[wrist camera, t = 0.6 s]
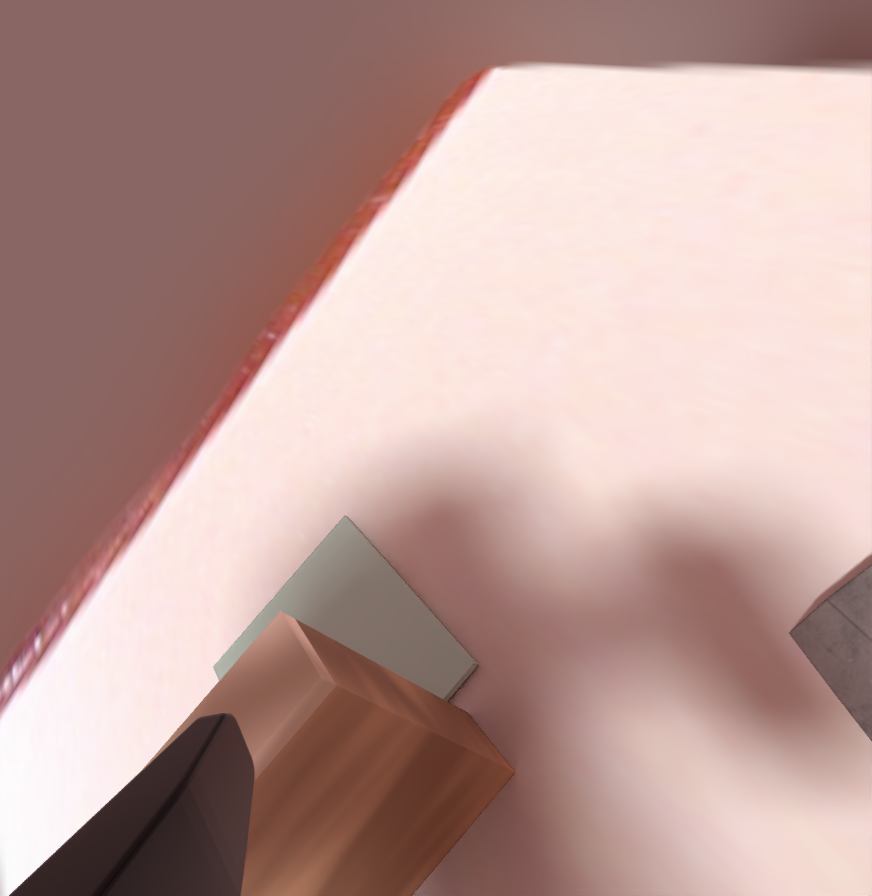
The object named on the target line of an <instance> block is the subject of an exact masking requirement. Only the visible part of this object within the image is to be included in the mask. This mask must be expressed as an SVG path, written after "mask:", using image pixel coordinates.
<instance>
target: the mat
mask: <svg viewBox="0 0 872 896" xmlns="http://www.w3.org/2000/svg"><path fill="white" fill-rule="evenodd" d="M280 611H282V612H284V613H286V614H287V615H289V616H291V617H293V618H295V619H297V620H298V621H300V622H302V623H304V624H306V625H308V626H309V627H311V628H313V629H315V630H317V631H319V632H320V633H322V634H324V635H326V636H328V637H330V638H331V639H333V640H335V641H337V642H339V643H341V644H342V645H344V646H346V647H348V648H350V649H352V650H353V651H355V652H357V653H359V654H361V655H363V656H364V657H366V658H368V659H370V660H372V661H374V662H375V663H377V664H379V665H381V666H383V667H385V668H386V669H388V670H390V671H392V672H394V673H396V674H397V675H399V676H401V677H403V678H405V679H407V680H409V681H410V682H412V683H414V684H416V685H418V686H420V687H421V688H423V689H425V690H427V691H429V692H431V693H432V694H434V695H436V696H438V697H440V698H442V699H443V700H445V701H447V702H448V700H449V699H450V698H451V697H452V696H453V694H454V693H455V692H456V691H457V690H458V689H459V687H460V686H461V685H462V684H463V683H464V681H465V680H466V679H467V678H468V677H469V676H470V674H471V673H472V672H473V671H474V670H475V669H476V667H477V666H478V664H477V663H476V662H475V660H474V659H473V658H472V657H471V656H470V655H469V654H468V652H467V651H466V650H465V649H464V648H463V647H462V646H461V645H460V643H459V642H458V641H457V640H456V639H455V638H454V637H453V636H452V634H451V633H450V632H449V631H448V630H447V629H446V628H445V627H444V625H443V624H442V623H441V622H440V621H439V620H438V619H437V617H436V616H435V615H434V614H433V613H432V612H431V611H430V610H429V608H428V607H427V606H426V605H425V604H424V603H423V602H422V601H421V599H420V598H419V597H418V596H417V595H416V594H415V593H414V591H413V590H412V589H411V588H410V587H409V586H408V585H407V584H406V582H405V581H404V580H403V579H402V578H401V577H400V576H399V575H398V573H397V572H396V571H395V570H394V569H393V568H392V567H391V566H390V564H389V563H388V562H387V561H386V560H385V559H384V558H383V556H382V555H381V554H380V553H379V552H378V551H377V550H376V549H375V547H374V546H373V545H372V544H371V543H370V542H369V541H368V540H367V538H366V537H365V536H364V535H363V534H362V533H361V532H360V530H359V529H358V528H357V527H356V526H355V525H354V524H353V523H352V521H351V520H350V519H349V518H348V517H346V516H344V517H343V518H342V519H341V521H340V522H339V523H338V524H337V525H336V526H335V527H334V529H333V530H332V531H331V532H330V533H329V534H328V536H327V537H326V538H325V539H324V540H323V541H322V542H321V544H320V545H319V546H318V547H317V548H316V549H315V550H314V552H313V553H312V554H311V555H310V556H309V557H308V558H307V560H306V561H305V562H304V563H303V564H302V565H301V567H300V568H299V569H298V570H297V571H296V572H295V573H294V575H293V576H292V577H291V578H290V579H289V580H288V581H287V583H286V584H285V585H284V586H283V587H282V588H281V590H280V591H279V592H278V593H277V594H276V595H275V596H274V598H273V599H272V600H271V601H270V602H269V603H268V604H267V606H266V607H265V608H264V609H263V610H262V611H261V613H260V614H259V615H258V616H257V617H256V618H255V619H254V621H253V622H252V623H251V624H250V625H249V626H248V627H247V629H246V630H245V631H244V632H243V633H242V634H241V636H240V637H239V638H238V639H237V640H236V641H235V642H234V644H233V645H232V646H231V647H230V648H229V649H228V650H227V652H226V653H225V654H224V655H223V656H222V657H221V658H220V660H219V661H218V662H217V663H216V664H215V665H214V667H213V668H214V670H215V672H216V675H217V677H218V679H219V681H220V680H221V679H222V678H223V676H224V675H225V674H226V673H227V672H228V671H229V670H230V668H231V667H232V666H233V665H234V664H235V663H236V661H237V660H238V659H239V658H240V657H241V656H242V655H243V653H244V652H245V651H246V650H247V649H248V648H249V646H250V645H251V644H252V643H253V642H254V641H255V640H256V638H257V637H258V636H259V635H260V634H261V633H262V631H263V630H264V629H265V628H266V627H267V626H268V625H269V623H270V622H271V621H272V620H273V619H274V618H275V617H276V615H277V614H278V613H279V612H280Z"/></svg>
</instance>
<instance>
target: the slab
mask: <svg viewBox="0 0 872 896" xmlns="http://www.w3.org/2000/svg"><path fill="white" fill-rule="evenodd" d="M222 712H229V713H231V714H233V716H234V717H235V718H236V720H237V722H238V725H239V727H240V730H241V732H242V735H243V737H244V739H245V742H246V744H247V747H248V749H249V752H250V754H251V757H252V760H253V764H254V770H255V779H254V788H253V797H252V806H251V814H250V823H249V832H248V841H247V849H246V858H245V867H244V875H243V883H242V890H241V896H412V895H413V894H414V892H415V891H416V890H417V889H418V888H419V887H420V885H421V884H422V883H423V882H424V881H425V879H426V878H427V877H428V876H429V875H430V873H431V872H432V871H433V870H434V869H435V867H436V866H437V865H438V864H439V863H440V862H441V860H442V859H443V858H444V857H445V856H446V854H447V853H448V852H449V851H450V850H451V848H452V847H453V846H454V845H455V844H456V842H457V841H458V840H459V839H460V838H461V836H462V835H463V834H464V833H465V832H466V831H467V829H468V828H469V827H470V826H471V825H472V823H473V822H474V821H475V820H476V819H477V817H478V816H479V815H480V814H481V813H482V811H483V810H484V809H485V808H486V807H487V805H488V804H489V803H490V802H491V801H492V800H493V798H494V797H495V796H496V795H497V794H498V792H499V791H500V790H501V789H502V788H503V786H504V785H505V784H506V783H507V782H508V780H509V779H510V778H511V777H512V776H513V774H514V773H515V771H514V770H513V768H512V767H511V766H510V765H509V763H508V762H507V761H506V760H505V758H504V757H503V756H502V755H501V753H500V752H499V751H498V750H497V749H496V747H495V746H494V745H493V744H492V742H491V741H490V740H489V739H488V737H487V736H486V735H485V734H484V732H483V731H482V730H481V729H480V727H479V726H478V725H477V724H476V722H475V721H474V720H473V719H472V717H471V716H470V715H469V714H468V713H467V712H465V711H464V710H462V709H460V708H458V707H456V706H454V705H453V704H451V703H449V702H447V701H445V700H443V699H442V698H440V697H438V696H436V695H434V694H432V693H431V692H429V691H427V690H425V689H423V688H421V687H420V686H418V685H416V684H414V683H412V682H410V681H409V680H407V679H405V678H403V677H401V676H399V675H397V674H396V673H394V672H392V671H390V670H388V669H386V668H385V667H383V666H381V665H379V664H377V663H375V662H374V661H372V660H370V659H368V658H366V657H364V656H363V655H361V654H359V653H357V652H355V651H353V650H352V649H350V648H348V647H346V646H344V645H342V644H341V643H339V642H337V641H335V640H333V639H331V638H330V637H328V636H326V635H324V634H322V633H320V632H319V631H317V630H315V629H313V628H311V627H309V626H308V625H306V624H304V623H302V622H300V621H298V620H297V619H295V618H293V617H291V616H289V615H287V614H286V613H284V612H282V611H280V612H279V613H278V614H277V615H276V617H275V618H274V619H273V620H272V621H271V622H270V623H269V625H268V626H267V627H266V628H265V629H264V630H263V631H262V633H261V634H260V635H259V636H258V637H257V638H256V640H255V641H254V642H253V643H252V644H251V645H250V646H249V648H248V649H247V650H246V651H245V652H244V653H243V655H242V656H241V657H240V658H239V659H238V660H237V661H236V663H235V664H234V665H233V666H232V667H231V668H230V670H229V671H228V672H227V673H226V674H225V675H224V676H223V678H222V679H221V680H220V681H219V682H218V683H217V684H216V686H215V687H214V688H213V689H212V690H211V691H210V693H209V694H208V695H207V696H206V697H205V698H204V699H203V701H202V702H201V703H200V704H199V705H198V706H197V708H196V709H195V710H194V711H193V712H192V713H191V714H190V716H189V717H188V718H187V719H186V720H185V721H184V723H183V724H182V725H181V726H180V727H179V728H178V729H177V731H176V732H175V733H174V734H173V735H172V736H171V737H170V739H169V740H168V741H167V742H166V743H165V744H164V746H163V747H162V748H161V749H160V750H159V751H158V752H157V754H156V755H155V756H154V757H153V758H152V759H151V761H150V762H149V763H148V764H150V763H151V762H152V761H153V760H154V759H155V758H156V757H157V756H158V755H159V754H160V753H161V752H162V751H163V750H164V749H165V748H167V747H168V746H169V745H170V744H171V743H172V742H173V741H174V740H175V739H176V738H177V737H178V736H179V735H180V734H181V733H182V732H184V731H185V730H186V729H187V728H188V727H189V726H190V725H191V724H192V723H193V722H194V721H195V720H196V719H198V718H199V717H202V716H206V715H211V714H216V713H222ZM148 764H147V765H148ZM147 765H146V766H147ZM146 766H145V767H146ZM145 767H144V768H145Z"/></svg>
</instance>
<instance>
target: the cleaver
mask: <svg viewBox="0 0 872 896" xmlns="http://www.w3.org/2000/svg"><path fill="white" fill-rule="evenodd" d="M789 634H790V635H791V636H792V638H793V639H794V640H795V642H796V643H797V644H798V646H799V647H800V648H801V650H802V651H803V652H804V654H805V655H806V656H807V658H808V659H809V660H810V662H811V663H812V664H813V666H814V667H815V668H816V670H817V671H818V672H819V674H820V675H821V676H822V678H823V679H824V680H825V682H826V683H827V684H828V686H829V687H830V688H831V689H832V691H833V692H834V693H835V695H836V696H837V697H838V699H839V700H840V701H841V702H842V704H843V705H844V706H845V708H846V709H847V710H848V711H849V713H850V714H851V715H852V717H853V718H854V719H855V720H856V722H857V723H858V724H859V726H860V727H861V728H862V729H863V731H864V732H865V733H866V734H867V736H868V737H869V738H870V740H871V741H872V564H871V565H870V566H869V567H868V568H866V569H865V570H864V571H862V572H861V573H860V574H858V575H857V576H856V577H855V578H853V579H852V580H851V581H849V582H848V583H847V584H846V585H844V586H843V587H842V588H840V589H839V590H838V591H836V592H835V593H834V594H833V595H831V596H830V597H829V598H827V599H826V600H825V601H824V602H823V603H822V604H821V605H819V606H818V607H817V608H816V609H815V610H814V611H813V612H812V613H811V614H810V615H808V616H807V617H806V618H805V619H804V620H803V621H802V622H801V623H800V624H799V625H797V626H796V627H795V628H794V629H793V630H792V631H791V632H790V633H789Z"/></svg>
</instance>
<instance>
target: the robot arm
mask: <svg viewBox="0 0 872 896" xmlns="http://www.w3.org/2000/svg"><path fill="white" fill-rule="evenodd" d="M254 779H255V770H254V764H253V760H252V757H251V754H250V752H249V749H248V747H247V744H246V742H245V739H244V737H243V735H242V732H241V730H240V727H239V725H238V722H237V720H236V718H235V717H234V716H233V714H231V713H229V712H222V713H216V714H211V715H206V716H202V717H199V718H198V719H196V720H195V721H194V722H193V723H192V724H191V725H190V726H189V727H188V728H187V729H186V730H185V731H184V732H182V733H181V734H180V735H179V736H178V737H177V738H176V739H175V740H174V741H173V742H172V743H171V744H170V745H169V746H168V747H167V748H165V749H164V750H163V751H162V752H161V753H160V754H159V755H158V756H157V757H156V758H155V759H154V760H153V761H152V762H151V763H150V764H148V765H147V766H146V767H145V768H144V769H143V770H142V771H141V772H140V773H139V774H138V775H137V776H136V777H135V778H134V779H133V780H131V781H130V782H129V783H128V784H127V785H126V786H125V787H124V788H123V789H122V790H121V791H120V792H119V793H118V794H117V795H115V796H114V797H113V798H112V799H111V800H110V801H109V802H108V803H107V804H106V805H105V806H104V807H103V808H102V809H101V810H100V811H98V812H97V813H96V814H95V815H94V816H93V817H92V818H91V819H90V820H89V821H88V822H87V823H86V824H85V825H84V826H82V827H81V828H80V829H79V830H78V831H77V832H76V833H75V834H74V835H73V836H72V837H71V838H70V839H69V840H68V841H67V842H65V843H64V844H63V845H62V846H61V847H60V848H59V849H58V850H57V851H56V852H55V853H54V854H53V855H52V856H51V857H49V858H48V859H47V860H46V861H45V862H44V863H43V864H42V865H41V866H40V867H39V868H38V869H37V870H36V871H35V872H34V873H32V874H31V875H30V876H29V877H28V878H27V879H26V880H25V881H24V882H23V883H22V884H21V885H20V886H19V887H18V888H16V889H15V890H14V891H13V892H12V893H11V894H10V895H9V896H241V890H242V883H243V875H244V867H245V858H246V849H247V841H248V832H249V823H250V814H251V806H252V797H253V788H254Z"/></svg>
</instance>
